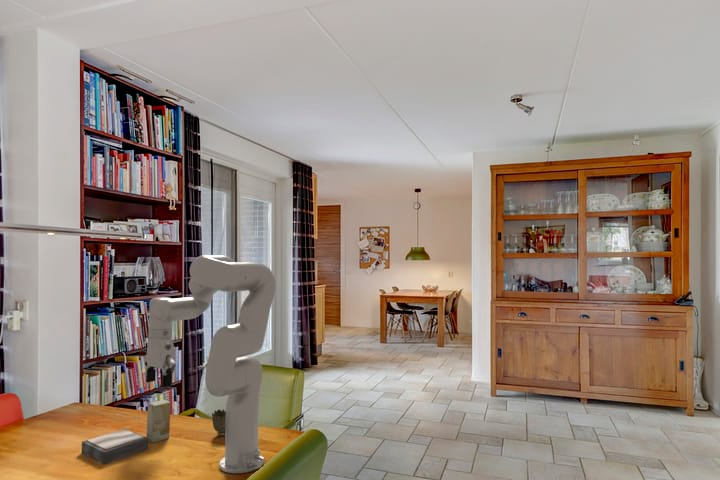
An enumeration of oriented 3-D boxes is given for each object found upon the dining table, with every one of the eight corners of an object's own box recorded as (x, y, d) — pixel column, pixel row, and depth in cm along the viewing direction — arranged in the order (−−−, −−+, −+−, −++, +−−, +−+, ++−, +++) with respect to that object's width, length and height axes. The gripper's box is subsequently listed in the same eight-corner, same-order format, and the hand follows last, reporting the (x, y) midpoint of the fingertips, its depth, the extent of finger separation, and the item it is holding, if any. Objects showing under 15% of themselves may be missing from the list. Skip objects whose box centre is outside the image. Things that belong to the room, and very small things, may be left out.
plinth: (148, 449, 151) (148, 436, 151) (103, 464, 140) (104, 450, 140) (125, 439, 159) (125, 427, 160) (81, 453, 148) (82, 440, 148)
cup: (227, 440, 159) (227, 416, 160) (207, 438, 161) (207, 414, 161) (237, 432, 167) (237, 409, 167) (218, 430, 168) (218, 408, 169)
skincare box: (152, 443, 157) (153, 405, 157) (145, 440, 159) (146, 403, 160) (170, 437, 162) (171, 401, 162) (163, 434, 164) (164, 399, 165)
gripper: (185, 335, 160) (183, 386, 160) (156, 329, 170) (154, 377, 170) (164, 338, 154) (162, 391, 153) (136, 332, 164) (134, 381, 164)
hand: (158, 384), depth 162 cm, fingers open, 9 cm apart
